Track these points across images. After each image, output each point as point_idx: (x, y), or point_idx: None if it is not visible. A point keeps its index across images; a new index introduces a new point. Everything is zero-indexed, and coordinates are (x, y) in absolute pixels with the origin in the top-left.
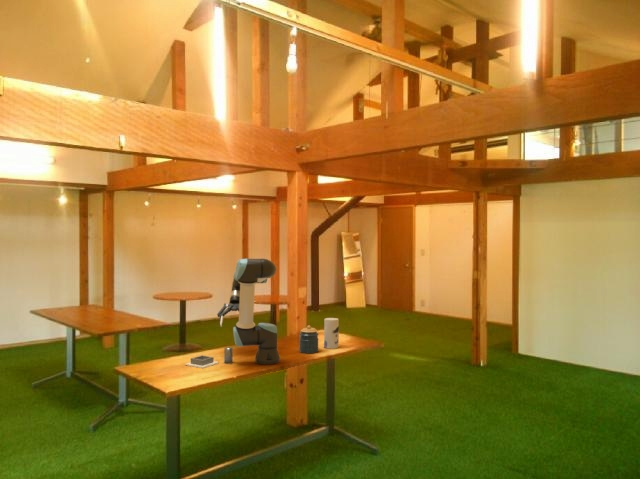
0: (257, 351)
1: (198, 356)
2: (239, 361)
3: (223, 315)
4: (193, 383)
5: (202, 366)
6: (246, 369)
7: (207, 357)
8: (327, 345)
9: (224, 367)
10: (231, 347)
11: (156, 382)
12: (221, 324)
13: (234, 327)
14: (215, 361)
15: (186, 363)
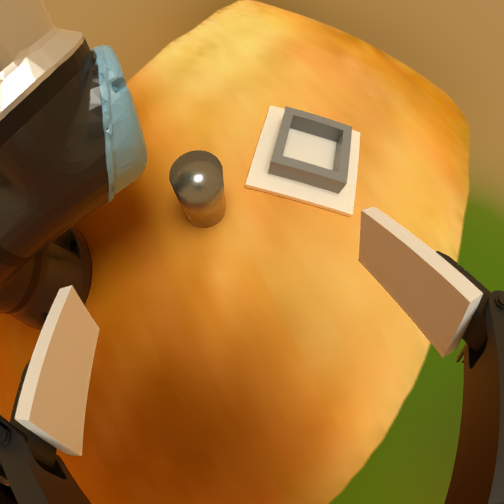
0: (54, 243)
1: (345, 160)
2: (160, 243)
3: (474, 370)
4: (217, 23)
5: (275, 111)
6: None
7: (302, 163)
8: None
9: (191, 137)
10: (180, 186)
11: (306, 21)
12: (365, 232)
13: (103, 48)
14: (264, 185)
15: (359, 137)
